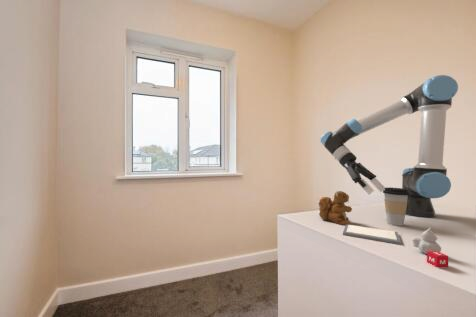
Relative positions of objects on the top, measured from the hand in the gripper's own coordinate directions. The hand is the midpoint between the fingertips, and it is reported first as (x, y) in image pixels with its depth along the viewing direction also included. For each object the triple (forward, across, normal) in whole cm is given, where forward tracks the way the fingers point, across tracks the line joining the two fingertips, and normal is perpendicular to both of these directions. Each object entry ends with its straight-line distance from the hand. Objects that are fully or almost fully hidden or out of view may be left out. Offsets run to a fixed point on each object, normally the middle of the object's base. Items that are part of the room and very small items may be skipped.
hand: (377, 191), depth 102 cm
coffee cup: (+14, -1, -5) cm, 15 cm away
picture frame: (+13, +23, -5) cm, 27 cm away
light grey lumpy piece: (+25, +28, +7) cm, 38 cm away
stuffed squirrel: (+1, +16, -18) cm, 24 cm away
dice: (+28, +35, +9) cm, 46 cm away
